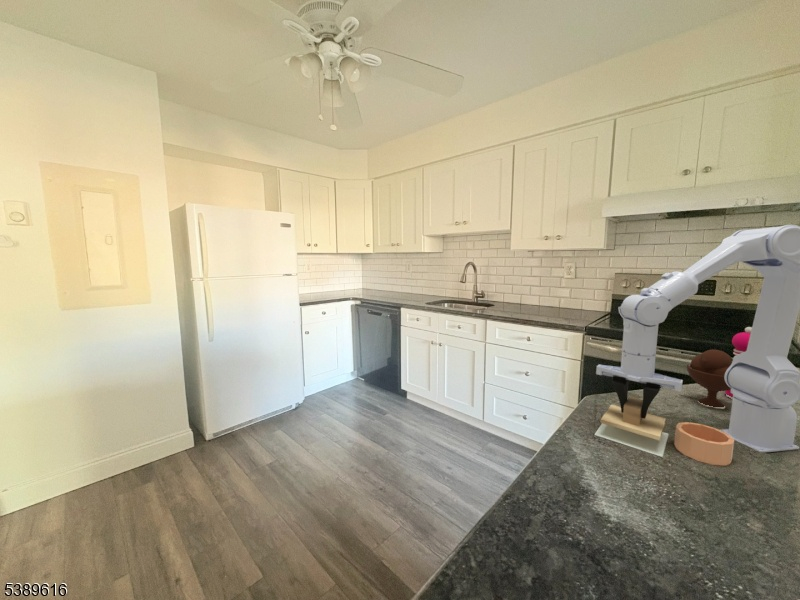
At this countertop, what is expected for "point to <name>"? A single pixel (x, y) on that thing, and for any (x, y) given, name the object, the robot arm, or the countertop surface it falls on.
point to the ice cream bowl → (710, 374)
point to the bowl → (704, 443)
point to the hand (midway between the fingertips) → (633, 413)
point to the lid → (634, 419)
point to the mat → (633, 439)
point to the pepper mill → (740, 346)
